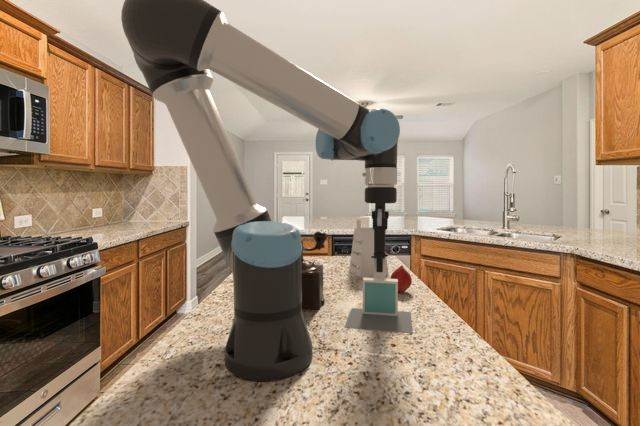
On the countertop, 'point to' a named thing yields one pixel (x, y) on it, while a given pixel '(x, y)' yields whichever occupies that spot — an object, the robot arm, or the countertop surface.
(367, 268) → the grater
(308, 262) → the manual coffee grinder
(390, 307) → the tile
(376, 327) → the mat
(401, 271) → the onion
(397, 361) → the countertop surface
